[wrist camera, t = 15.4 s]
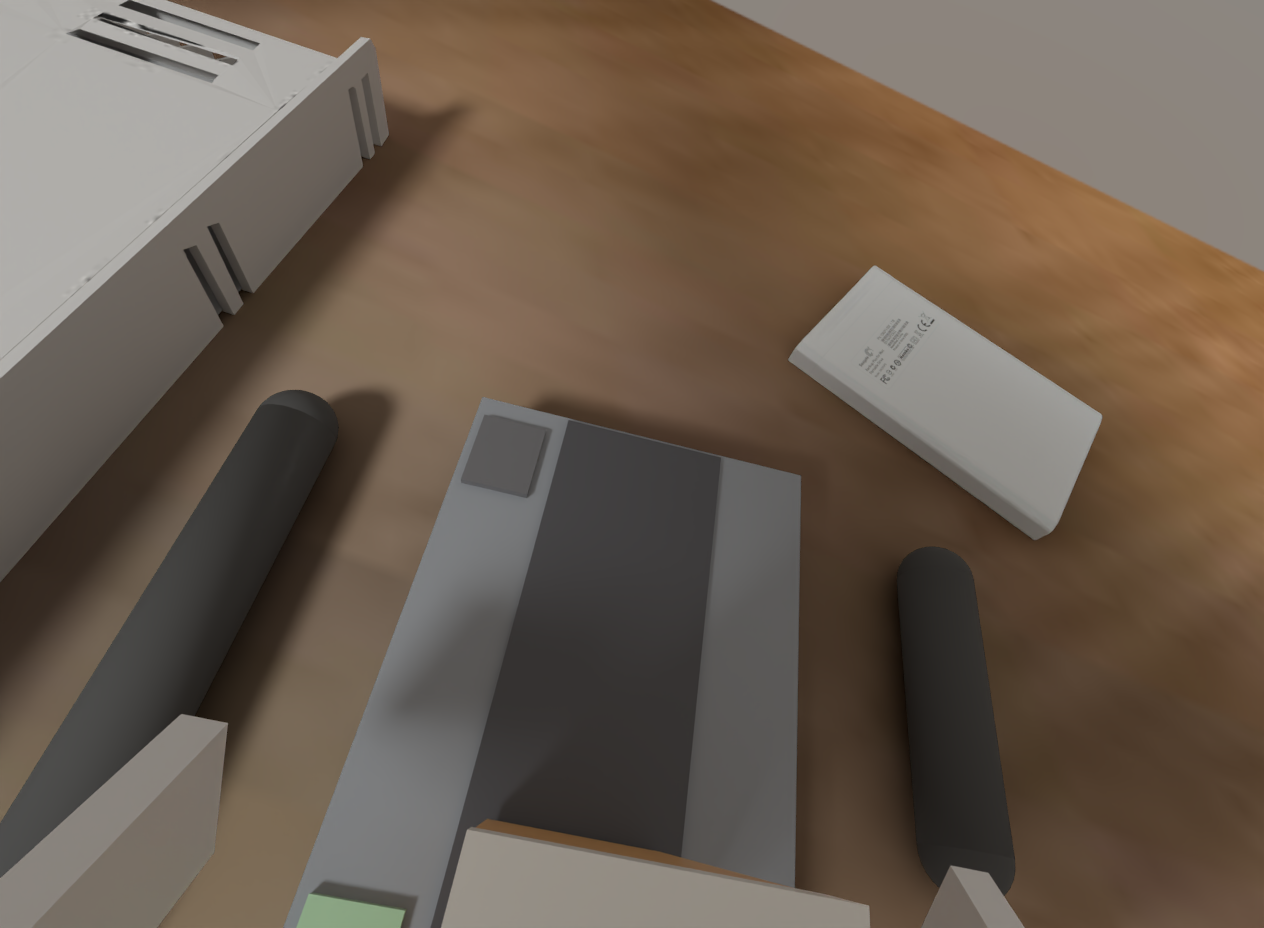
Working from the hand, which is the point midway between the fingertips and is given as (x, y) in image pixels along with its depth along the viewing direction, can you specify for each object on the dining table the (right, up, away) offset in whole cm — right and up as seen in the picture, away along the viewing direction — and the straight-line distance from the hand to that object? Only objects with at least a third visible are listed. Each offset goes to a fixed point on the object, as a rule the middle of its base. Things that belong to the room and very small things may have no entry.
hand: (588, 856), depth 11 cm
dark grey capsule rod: (+10, -1, +9) cm, 14 cm away
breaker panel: (-1, -1, +7) cm, 7 cm away
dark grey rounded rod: (-11, +2, +6) cm, 13 cm away
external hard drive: (+15, +10, +17) cm, 25 cm away
